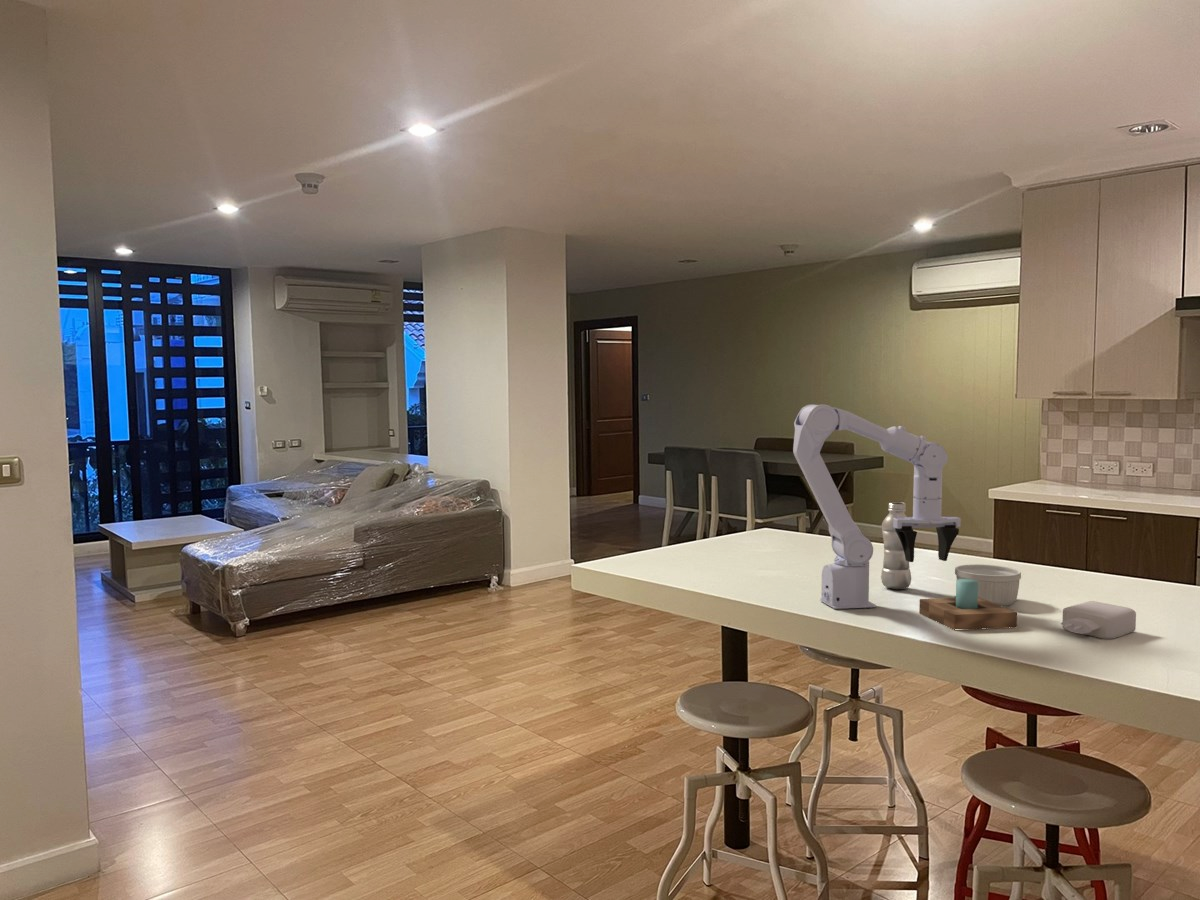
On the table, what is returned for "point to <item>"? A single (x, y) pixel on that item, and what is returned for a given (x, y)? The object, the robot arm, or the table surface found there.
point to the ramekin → (992, 581)
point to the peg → (967, 594)
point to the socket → (968, 614)
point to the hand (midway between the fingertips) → (926, 560)
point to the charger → (1099, 619)
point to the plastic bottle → (894, 551)
